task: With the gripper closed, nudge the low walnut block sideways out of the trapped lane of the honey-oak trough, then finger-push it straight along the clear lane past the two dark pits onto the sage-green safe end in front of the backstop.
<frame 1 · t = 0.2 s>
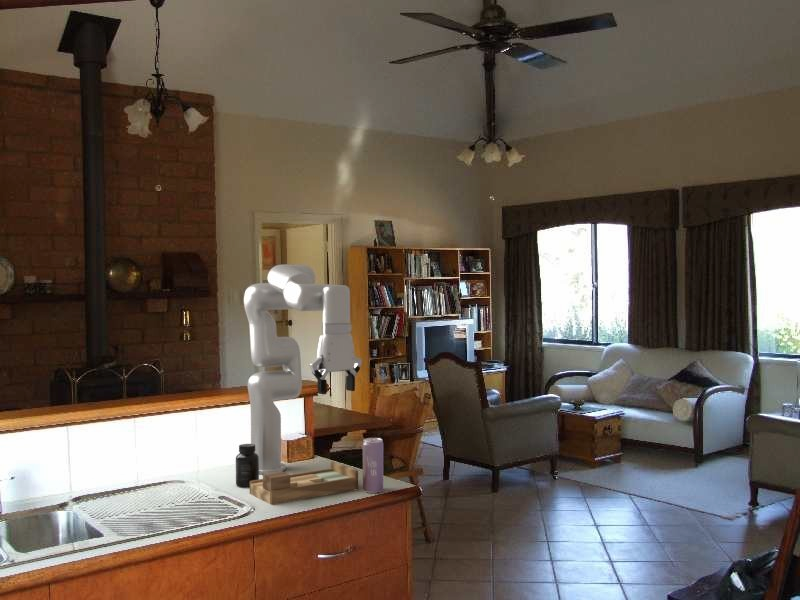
hand: (336, 392, 224), 30 cm above the worktop, tool pointing down, fingers open, 9 cm apart
beverage can: (372, 491, 237), on the worktop
walnut block: (276, 488, 228), point 3 cm above the worktop, touching trap trough
supplement bottle: (247, 485, 243), on the worktop
trap trough: (302, 491, 236), on the worktop
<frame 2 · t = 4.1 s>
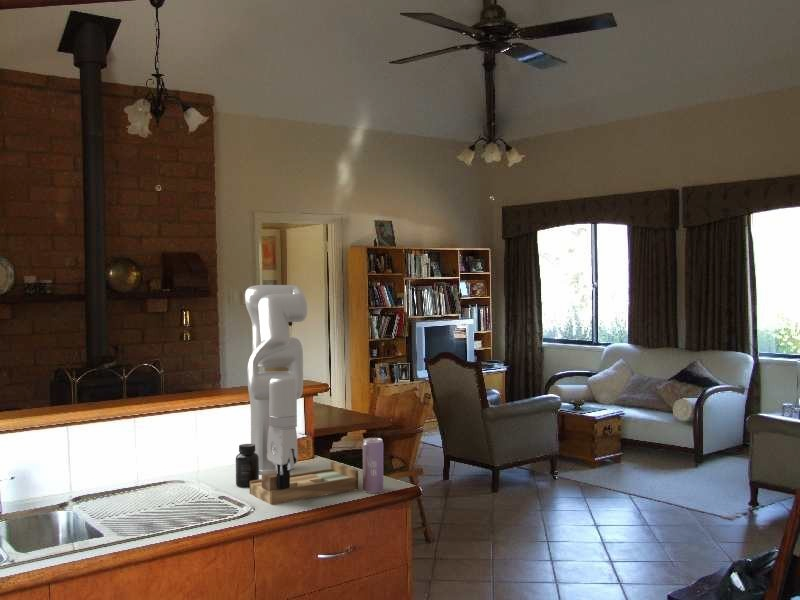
hand: (283, 487, 225), 4 cm above the worktop, tool pointing down, fingers closed
walnut block: (275, 488, 228), point 3 cm above the worktop, touching gripper, trap trough
everything else where it was.
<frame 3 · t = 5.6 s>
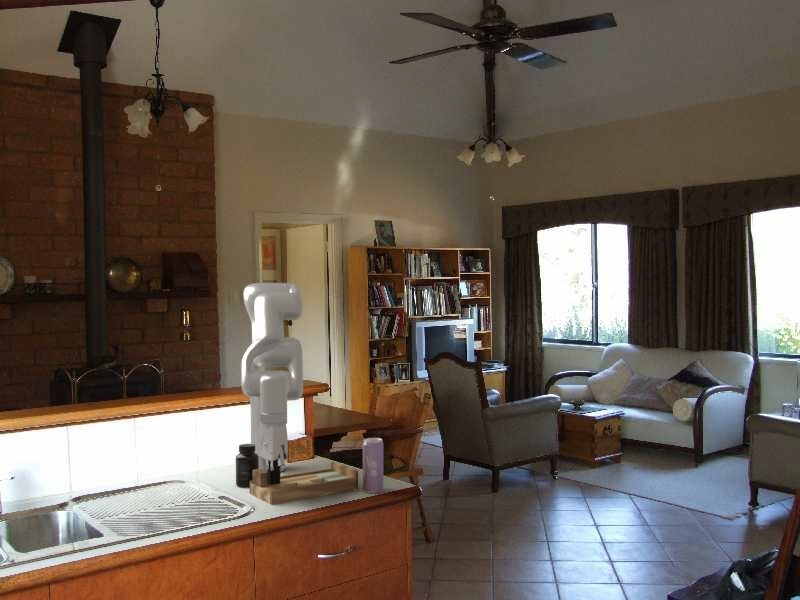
hand: (273, 483, 229), 4 cm above the worktop, tool pointing down, fingers closed
walnut block: (266, 484, 233), point 3 cm above the worktop, touching gripper, trap trough
everything else where it was.
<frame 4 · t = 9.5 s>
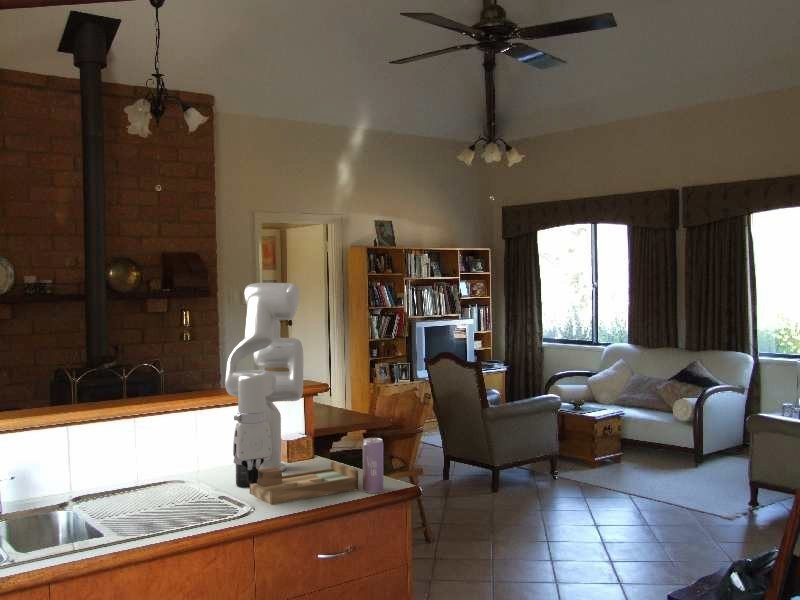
hand: (252, 482, 230), 4 cm above the worktop, tool pointing down, fingers closed
walnut block: (268, 483, 233), point 3 cm above the worktop, touching trap trough
everything else where it was.
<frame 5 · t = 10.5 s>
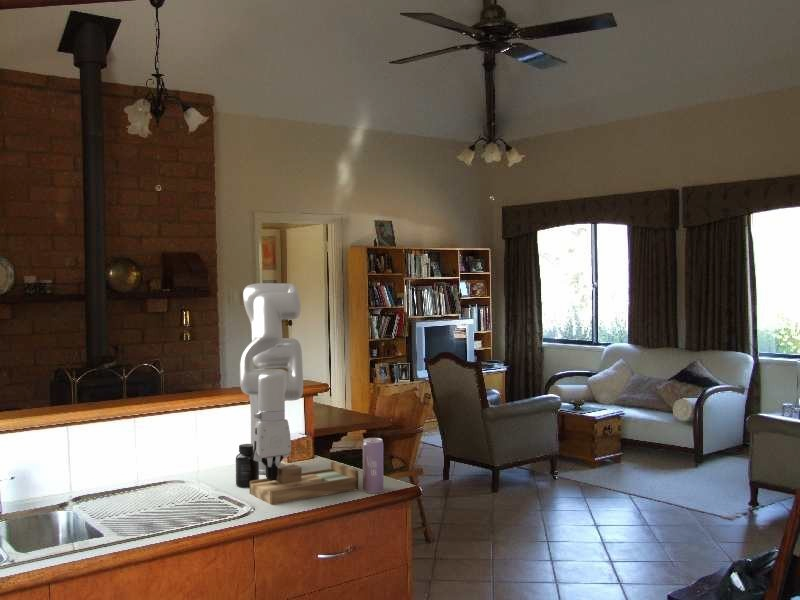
hand: (271, 479, 234), 4 cm above the worktop, tool pointing down, fingers closed
walnut block: (288, 480, 236), point 3 cm above the worktop, touching gripper
everything else where it was.
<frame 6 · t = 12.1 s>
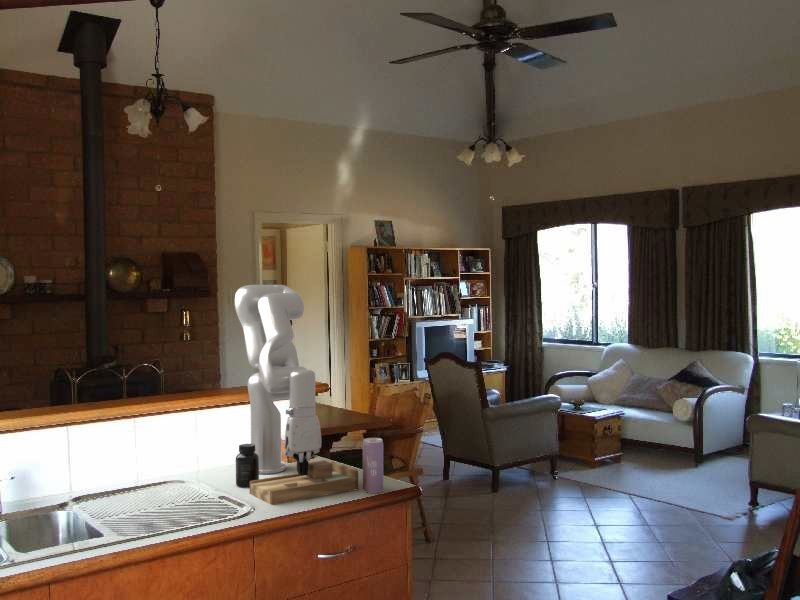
hand: (302, 474, 239), 4 cm above the worktop, tool pointing down, fingers closed
walnut block: (319, 476, 242), point 3 cm above the worktop, touching gripper
everything else where it was.
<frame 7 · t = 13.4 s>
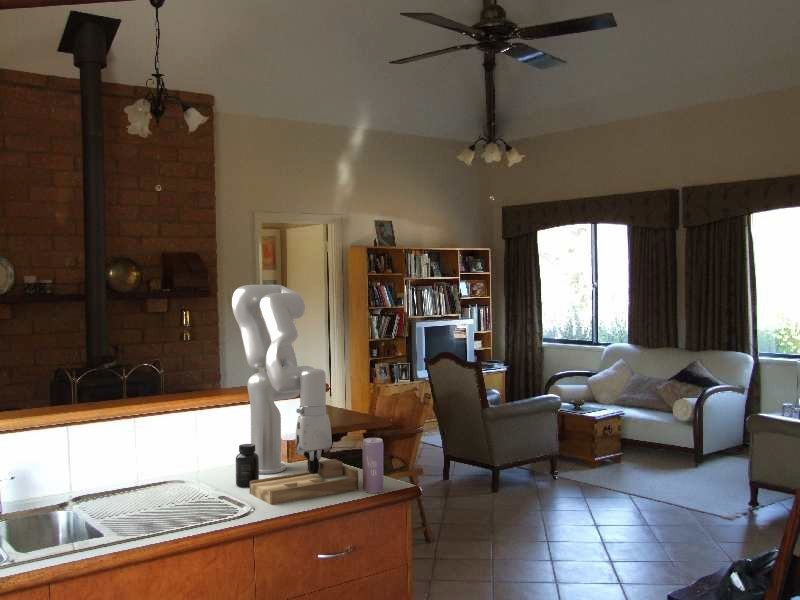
hand: (313, 472, 241), 4 cm above the worktop, tool pointing down, fingers closed
walnut block: (329, 475, 243), point 3 cm above the worktop, touching gripper, trap trough
everything else where it was.
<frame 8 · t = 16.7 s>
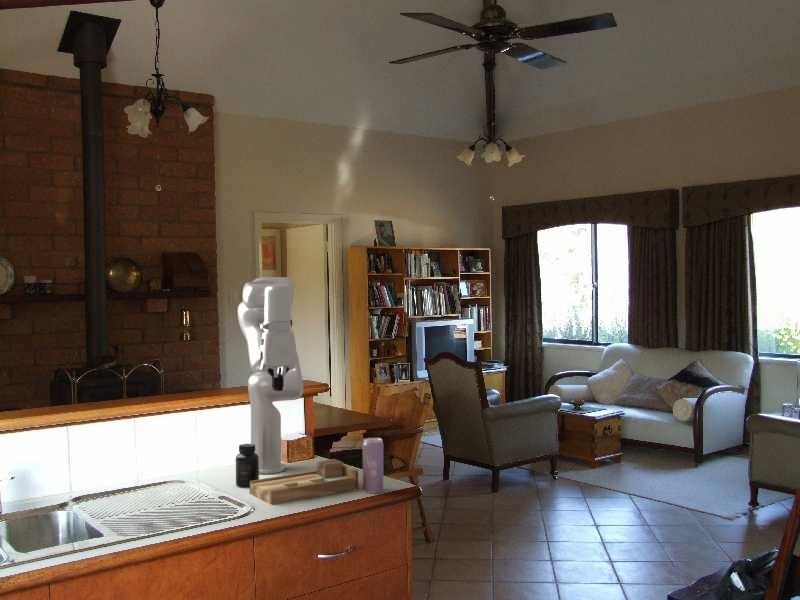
hand: (277, 390, 237), 29 cm above the worktop, tool pointing down, fingers closed
walnut block: (329, 475, 243), point 3 cm above the worktop, touching trap trough
everything else where it was.
at the end: walnut block inside the target area on the trap trough (2.2 cm from its centre), point 3.0 cm above the trap trough's base; walnut block tilted 0° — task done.
